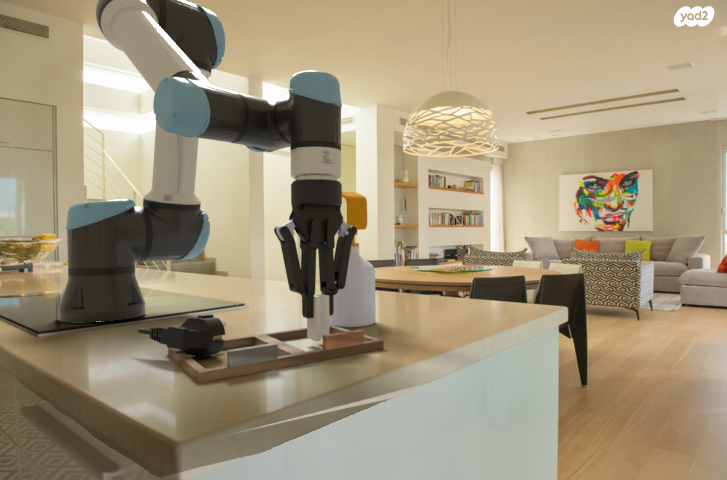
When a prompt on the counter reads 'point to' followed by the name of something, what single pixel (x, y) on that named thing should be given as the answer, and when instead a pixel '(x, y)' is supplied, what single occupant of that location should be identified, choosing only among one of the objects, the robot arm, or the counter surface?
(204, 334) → the power plug
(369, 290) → the soap bottle
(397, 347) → the counter surface
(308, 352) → the strip
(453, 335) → the counter surface
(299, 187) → the robot arm
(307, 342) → the counter surface
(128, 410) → the counter surface
